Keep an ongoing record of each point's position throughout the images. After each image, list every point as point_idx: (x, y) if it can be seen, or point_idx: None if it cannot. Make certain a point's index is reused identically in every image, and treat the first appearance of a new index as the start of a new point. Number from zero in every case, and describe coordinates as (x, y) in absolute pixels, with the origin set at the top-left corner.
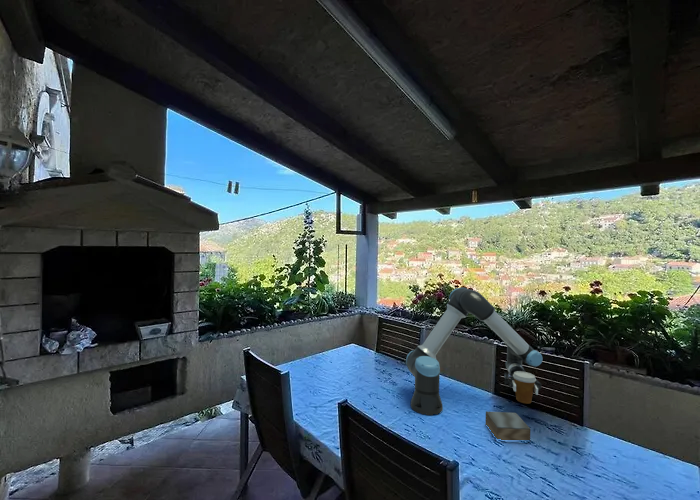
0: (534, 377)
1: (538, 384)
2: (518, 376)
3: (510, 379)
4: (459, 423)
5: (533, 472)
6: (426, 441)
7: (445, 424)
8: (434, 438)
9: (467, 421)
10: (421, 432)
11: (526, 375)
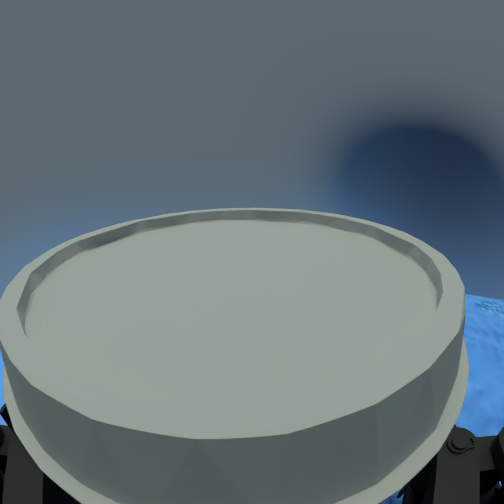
0: (106, 227)
1: (1, 441)
2: (338, 221)
3: (463, 442)
4: (483, 371)
5: None
6: (473, 297)
7: (499, 350)
8: (472, 307)
9: (476, 393)
10: (499, 310)
11: (178, 268)
